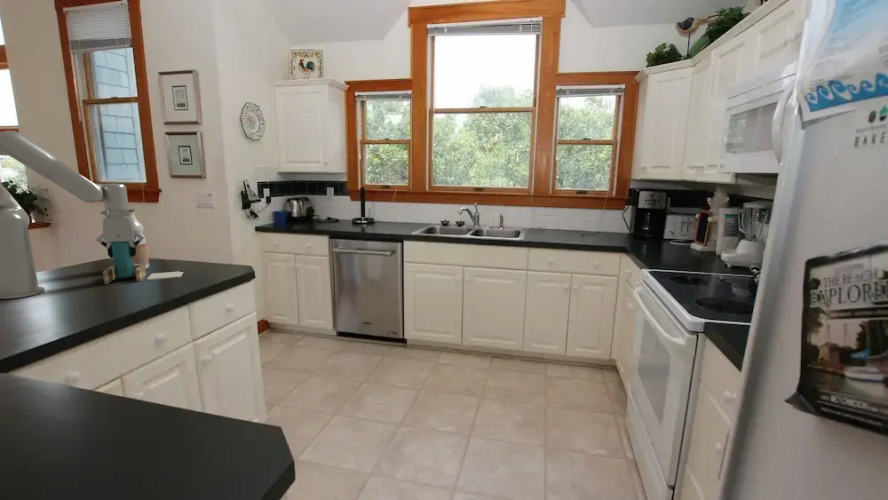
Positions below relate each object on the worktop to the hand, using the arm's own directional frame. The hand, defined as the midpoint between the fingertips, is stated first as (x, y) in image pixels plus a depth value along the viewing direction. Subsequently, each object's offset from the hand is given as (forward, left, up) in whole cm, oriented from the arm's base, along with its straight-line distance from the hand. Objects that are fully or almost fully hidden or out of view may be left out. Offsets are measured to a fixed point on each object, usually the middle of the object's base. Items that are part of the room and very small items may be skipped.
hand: (122, 256), depth 168 cm
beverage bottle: (0, 0, -10) cm, 10 cm away
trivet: (+14, 0, -10) cm, 17 cm away
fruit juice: (0, +20, -10) cm, 22 cm away
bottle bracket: (0, 0, -10) cm, 10 cm away
